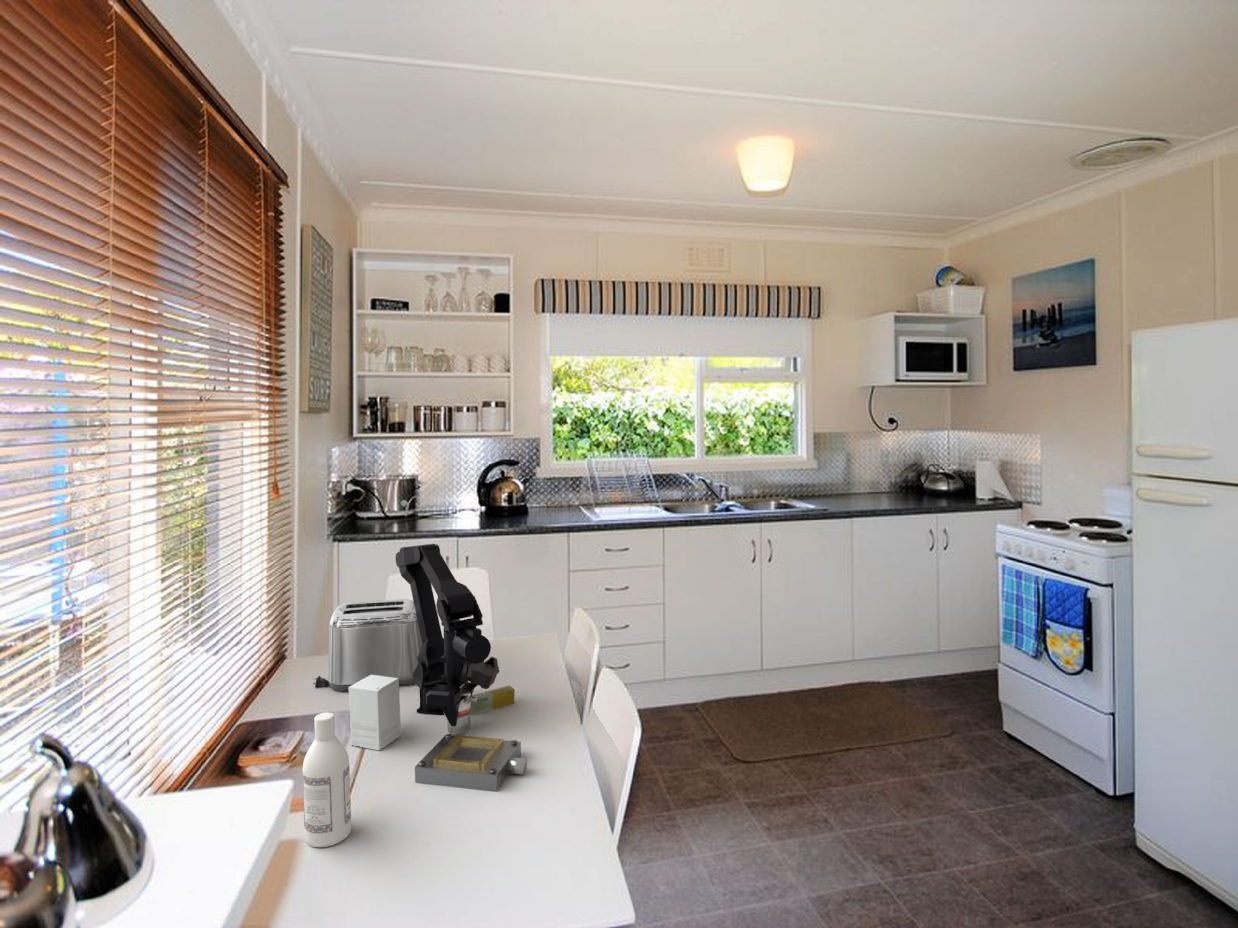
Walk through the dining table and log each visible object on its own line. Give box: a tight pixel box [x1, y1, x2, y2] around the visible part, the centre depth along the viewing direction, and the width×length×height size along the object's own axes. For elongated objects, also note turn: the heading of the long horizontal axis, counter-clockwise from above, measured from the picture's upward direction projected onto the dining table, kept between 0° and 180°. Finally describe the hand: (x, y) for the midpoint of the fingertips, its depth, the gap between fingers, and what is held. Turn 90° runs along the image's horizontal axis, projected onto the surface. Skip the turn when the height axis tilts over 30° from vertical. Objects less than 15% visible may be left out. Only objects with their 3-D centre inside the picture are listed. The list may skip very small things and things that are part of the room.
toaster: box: [312, 598, 422, 693], centre depth 176 cm, size 17×30×19 cm, turn 104°
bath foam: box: [301, 711, 352, 848], centre depth 110 cm, size 7×7×20 cm
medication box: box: [471, 685, 516, 717], centre depth 159 cm, size 12×3×4 cm, turn 127°
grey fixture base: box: [414, 733, 528, 792], centre depth 131 cm, size 19×13×4 cm
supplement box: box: [348, 675, 402, 751], centre depth 143 cm, size 7×7×13 cm
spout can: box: [446, 689, 478, 736], centre depth 148 cm, size 7×5×8 cm
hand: (459, 720), depth 148 cm, fingers closed on spout can, 5 cm apart
